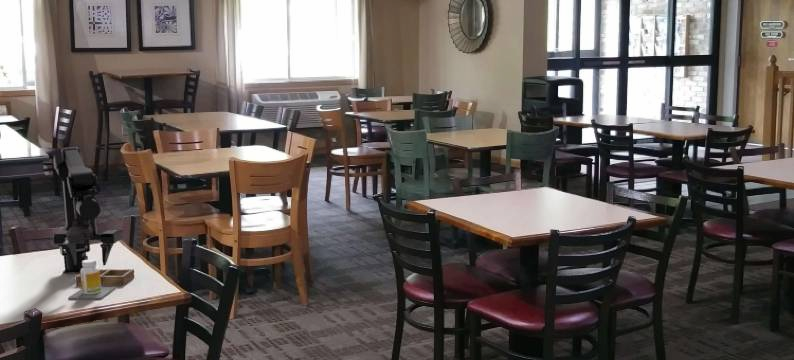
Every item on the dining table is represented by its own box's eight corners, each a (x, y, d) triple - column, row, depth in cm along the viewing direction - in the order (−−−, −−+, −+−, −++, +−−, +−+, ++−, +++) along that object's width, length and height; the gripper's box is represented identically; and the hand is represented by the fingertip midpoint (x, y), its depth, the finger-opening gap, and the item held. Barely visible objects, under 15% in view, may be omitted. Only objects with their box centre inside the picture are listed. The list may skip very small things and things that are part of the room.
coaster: (68, 299, 253) (68, 297, 253) (83, 289, 263) (83, 287, 263) (101, 299, 252) (101, 297, 252) (115, 289, 262) (115, 287, 262)
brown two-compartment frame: (76, 285, 267) (75, 276, 267) (87, 277, 275) (87, 269, 275) (124, 285, 266) (123, 276, 265) (134, 277, 274) (133, 269, 273)
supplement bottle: (105, 290, 259) (102, 259, 257) (93, 295, 254) (90, 263, 252) (90, 288, 261) (87, 257, 259) (78, 294, 256) (75, 262, 254)
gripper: (40, 220, 246) (46, 272, 249) (103, 219, 244) (108, 272, 247) (59, 211, 257) (64, 262, 260) (119, 211, 255) (124, 262, 258)
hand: (89, 265), depth 256 cm, fingers open, 9 cm apart
